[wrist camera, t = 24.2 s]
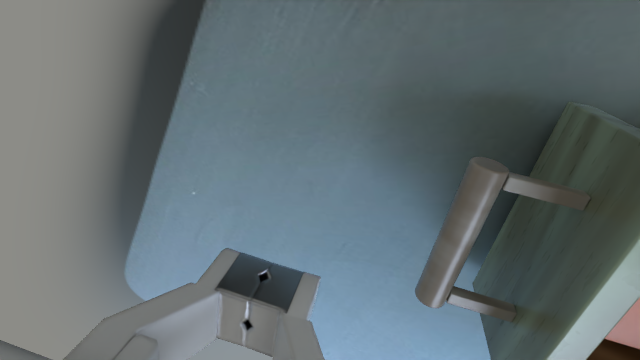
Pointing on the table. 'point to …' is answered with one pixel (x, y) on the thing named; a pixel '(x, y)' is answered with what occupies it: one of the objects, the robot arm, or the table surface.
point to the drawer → (550, 244)
